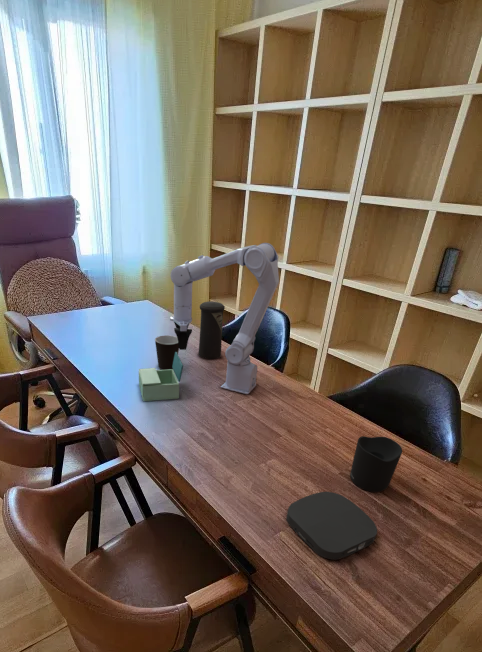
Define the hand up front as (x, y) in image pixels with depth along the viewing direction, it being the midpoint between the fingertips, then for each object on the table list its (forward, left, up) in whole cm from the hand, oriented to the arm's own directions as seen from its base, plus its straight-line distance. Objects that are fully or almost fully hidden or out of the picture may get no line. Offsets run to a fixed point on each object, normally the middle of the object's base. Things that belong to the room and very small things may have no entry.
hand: (182, 345), depth 142 cm
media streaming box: (-61, +50, -10) cm, 80 cm away
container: (-1, -19, -10) cm, 22 cm away
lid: (-5, +12, -2) cm, 14 cm away
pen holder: (-66, +30, -10) cm, 73 cm away
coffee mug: (+7, -4, -10) cm, 13 cm away
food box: (-1, +16, -10) cm, 19 cm away
